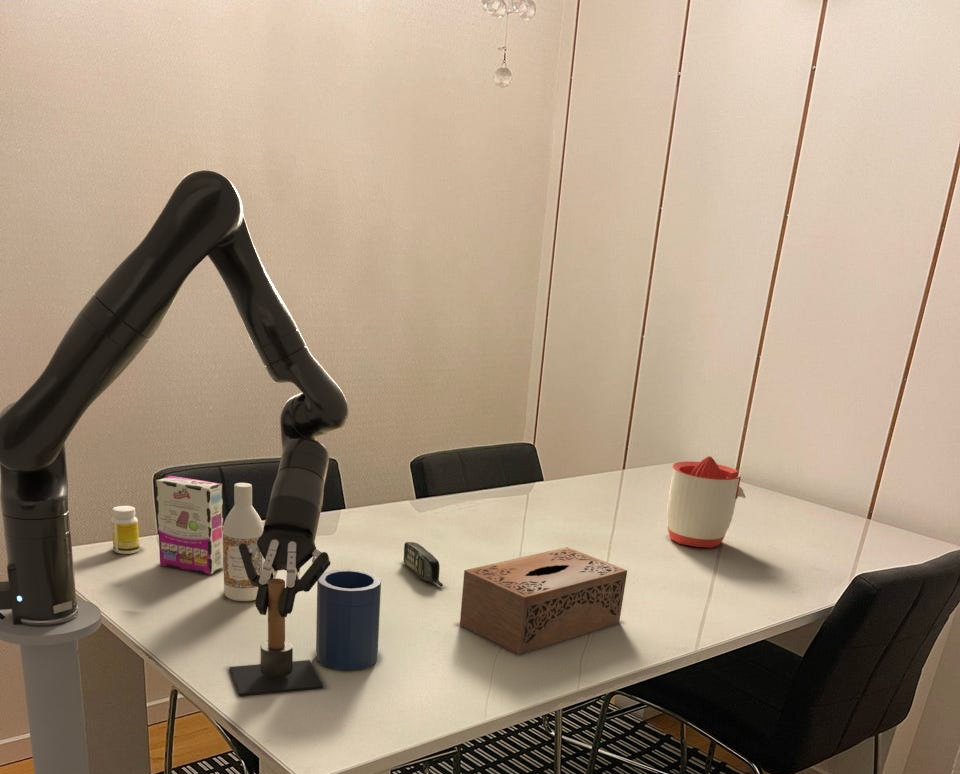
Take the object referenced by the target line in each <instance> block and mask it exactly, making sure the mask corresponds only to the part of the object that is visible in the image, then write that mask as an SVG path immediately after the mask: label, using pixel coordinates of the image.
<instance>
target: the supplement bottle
mask: <svg viewBox="0 0 960 774" xmlns="http://www.w3.org/2000/svg"><path fill="white" fill-rule="evenodd" d="M112 516H113V517H112V518H111V533H112V534H111V535H112V545H113V551H114V552H115V553H117V554H121V555H130V554H134V553H137V552H139V551H140V536H139V535H140V534H139V533H140V532H139V519H138V518H137V517H136V508H135V507H134V506H131V505H117V506H114V507H112Z"/></svg>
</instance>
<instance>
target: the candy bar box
mask: <svg viewBox="0 0 960 774" xmlns="http://www.w3.org/2000/svg"><path fill="white" fill-rule="evenodd" d="M155 490H156V509H157V511H156V512H157V528H158V548H159V549H158V550H159V565H160V566H163V567H167V568H174V569H179V570H183V571H189V572H195V573H200V574H205V575H210V576H211V575H213V574H216V573H217V572H219V571H221V570H224V569H223V526H224V507H223V505H224V504H223V501H224V500H223V483H220V482H219V483H218V482H212V481H208V480H200V479H194V478H188V477H181V476H176V475H168V476H165V477H161V478H160V479H156V480H155Z"/></svg>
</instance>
